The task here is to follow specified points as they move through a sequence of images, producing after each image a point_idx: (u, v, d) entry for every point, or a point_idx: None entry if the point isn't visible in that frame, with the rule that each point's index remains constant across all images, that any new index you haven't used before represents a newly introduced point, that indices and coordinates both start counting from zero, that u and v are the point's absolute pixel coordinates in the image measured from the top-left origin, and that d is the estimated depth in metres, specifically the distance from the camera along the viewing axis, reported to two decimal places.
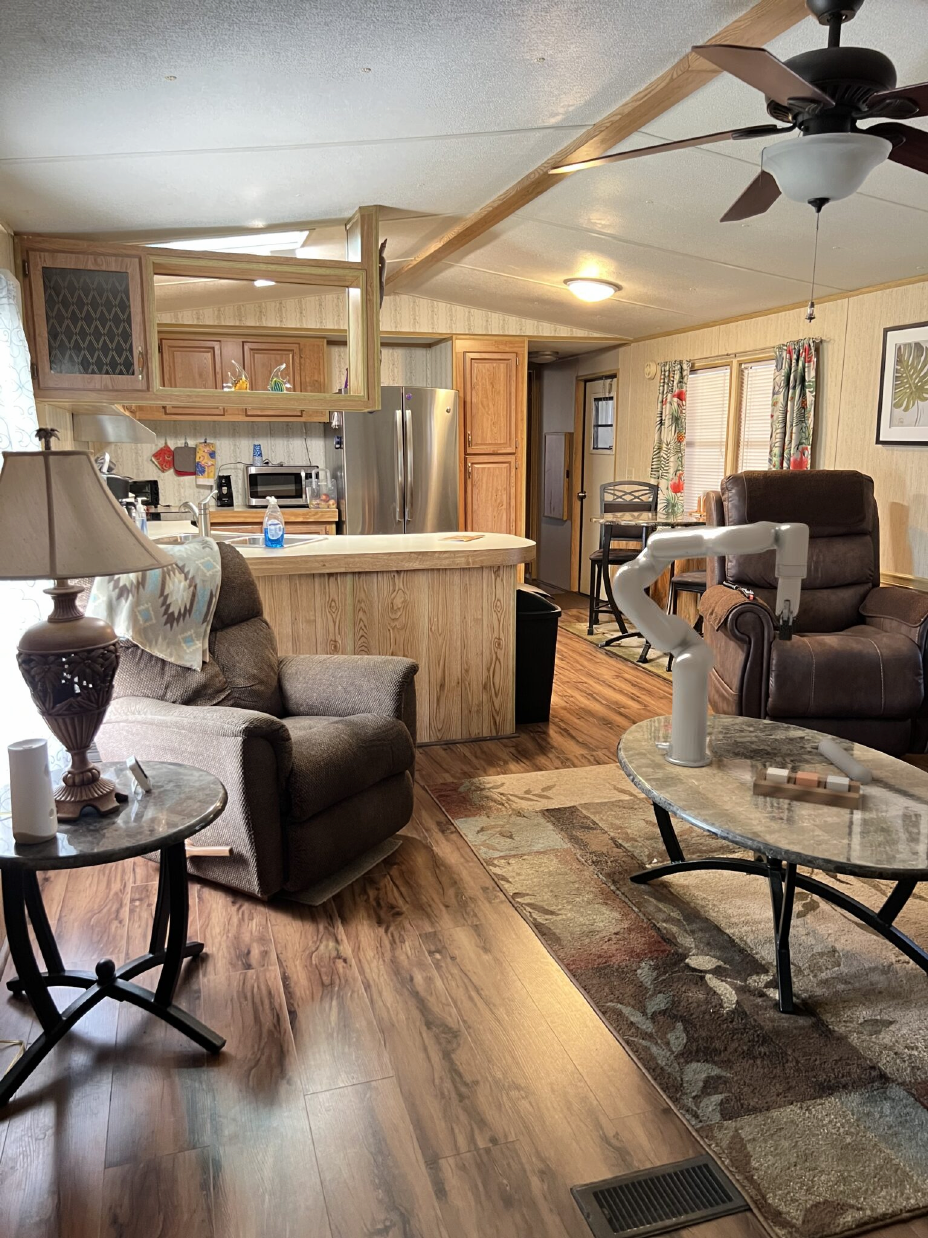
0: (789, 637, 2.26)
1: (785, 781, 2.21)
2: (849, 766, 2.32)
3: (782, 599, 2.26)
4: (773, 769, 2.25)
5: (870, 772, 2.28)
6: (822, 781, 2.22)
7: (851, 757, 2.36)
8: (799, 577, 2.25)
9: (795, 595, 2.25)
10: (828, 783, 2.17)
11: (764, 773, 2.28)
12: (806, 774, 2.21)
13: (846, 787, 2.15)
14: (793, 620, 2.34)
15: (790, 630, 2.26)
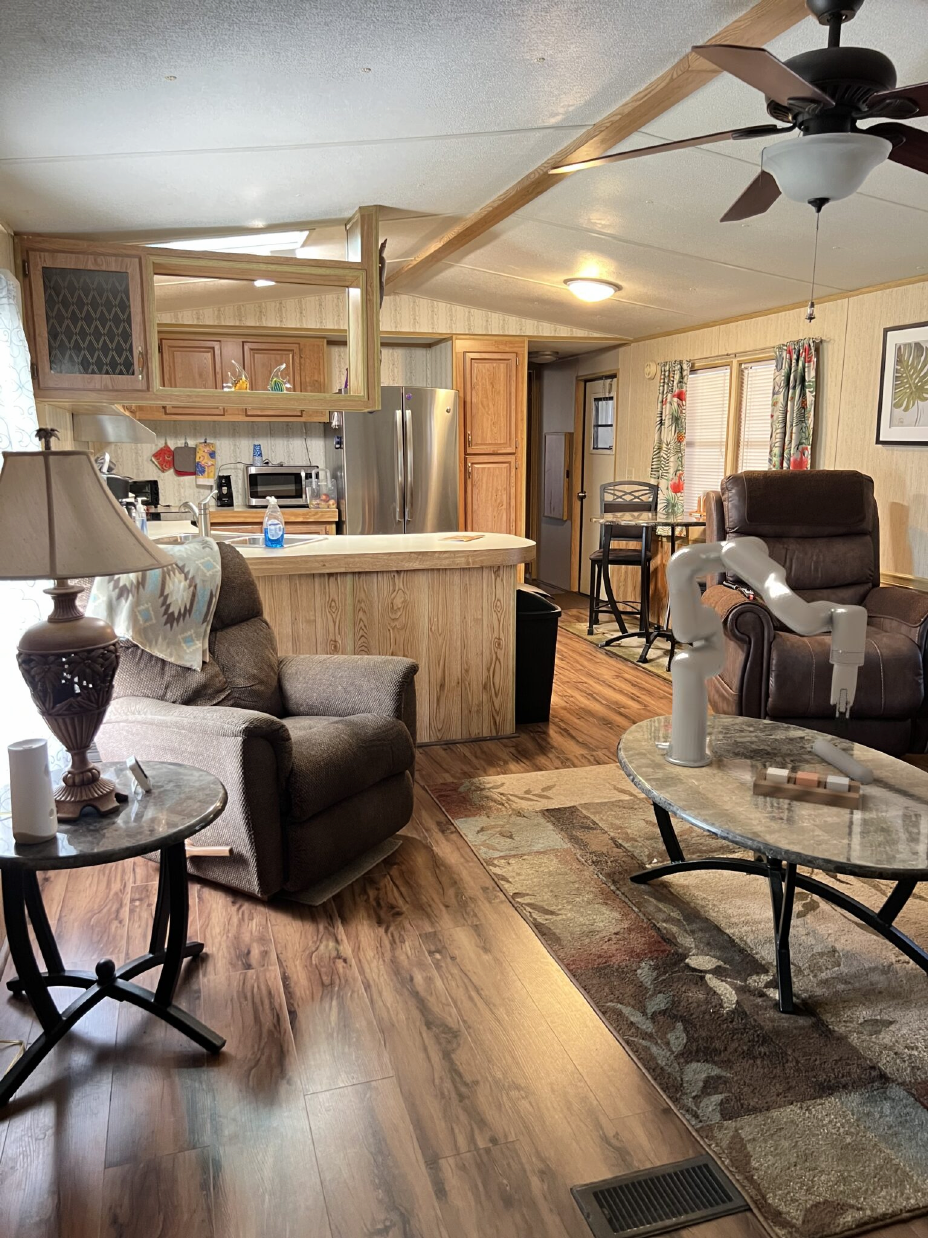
0: (845, 729, 2.14)
1: (785, 781, 2.21)
2: (850, 766, 2.32)
3: (838, 688, 2.10)
4: (773, 769, 2.25)
5: (872, 772, 2.28)
6: (822, 781, 2.22)
7: (850, 757, 2.36)
8: (857, 665, 2.10)
9: (852, 684, 2.09)
10: (828, 783, 2.17)
11: (764, 773, 2.28)
12: (806, 774, 2.21)
13: (846, 787, 2.15)
14: None
15: (846, 722, 2.14)
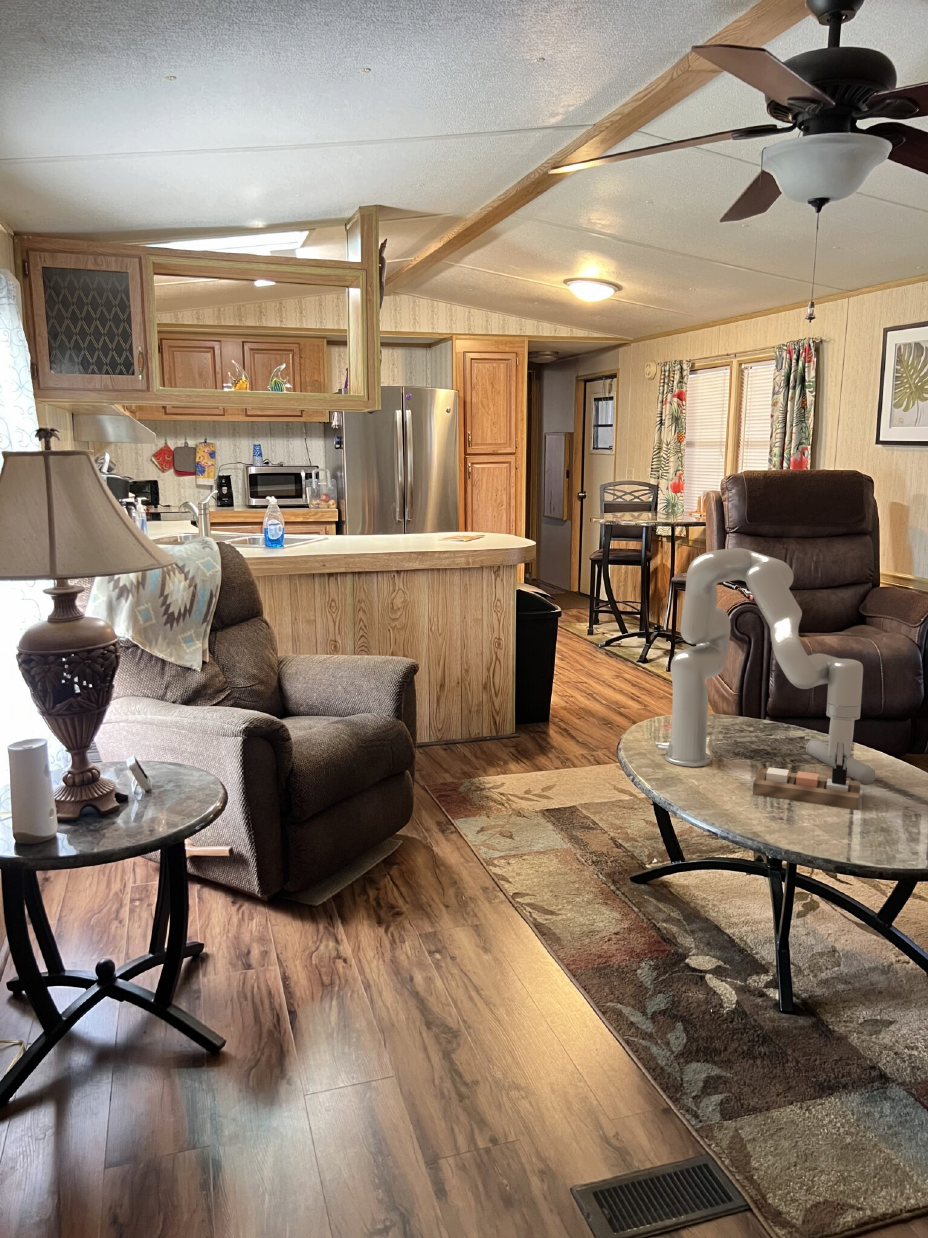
0: (843, 781, 2.17)
1: (785, 781, 2.21)
2: (851, 766, 2.32)
3: (835, 742, 2.12)
4: (773, 769, 2.25)
5: (874, 771, 2.28)
6: (822, 781, 2.22)
7: (849, 757, 2.36)
8: (853, 718, 2.12)
9: (849, 738, 2.11)
10: (828, 786, 2.17)
11: (764, 773, 2.28)
12: (806, 774, 2.21)
13: (846, 790, 2.15)
14: None
15: (844, 774, 2.16)
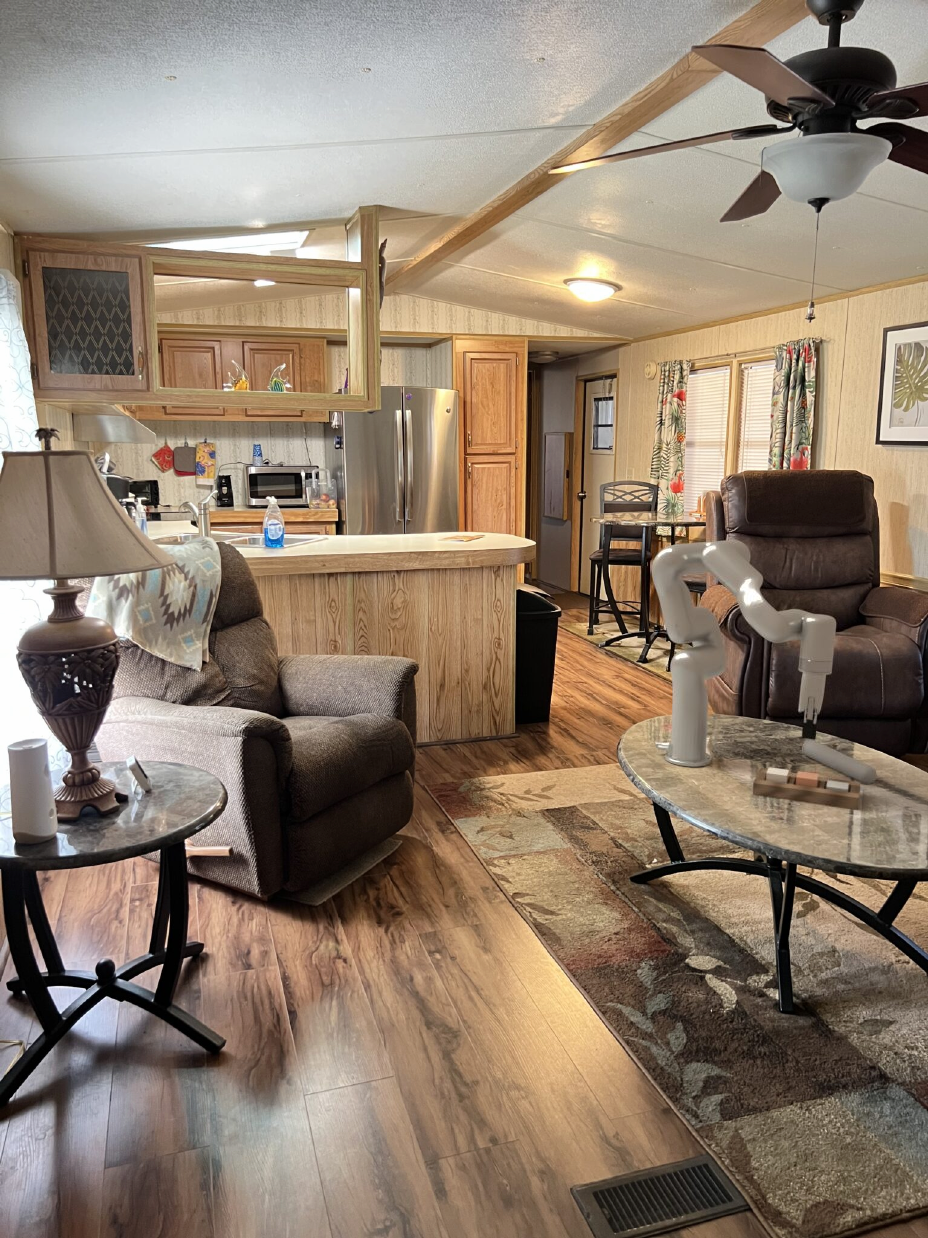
0: (813, 735, 2.18)
1: (785, 781, 2.21)
2: (852, 766, 2.32)
3: (806, 696, 2.13)
4: (773, 769, 2.25)
5: (875, 771, 2.29)
6: (822, 781, 2.22)
7: (848, 757, 2.36)
8: (824, 673, 2.13)
9: (820, 693, 2.12)
10: (828, 788, 2.17)
11: (764, 773, 2.28)
12: (806, 774, 2.21)
13: None
14: None
15: (814, 728, 2.18)
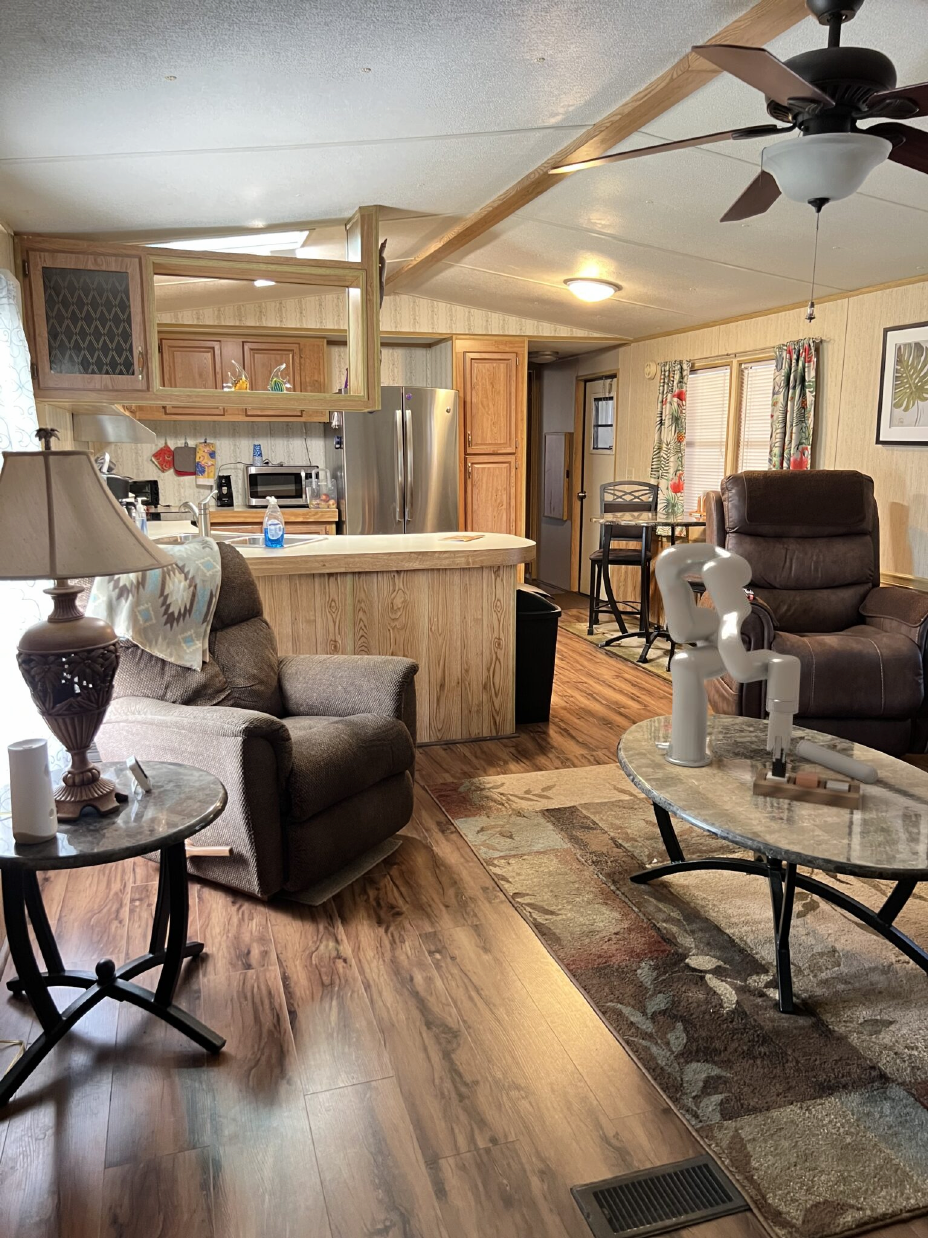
0: (782, 773, 2.23)
1: None
2: (853, 767, 2.32)
3: (773, 735, 2.18)
4: None
5: (876, 770, 2.29)
6: (822, 781, 2.22)
7: (847, 757, 2.36)
8: (791, 713, 2.18)
9: (786, 732, 2.17)
10: (828, 788, 2.17)
11: (764, 773, 2.28)
12: (806, 774, 2.21)
13: None
14: None
15: (783, 767, 2.22)
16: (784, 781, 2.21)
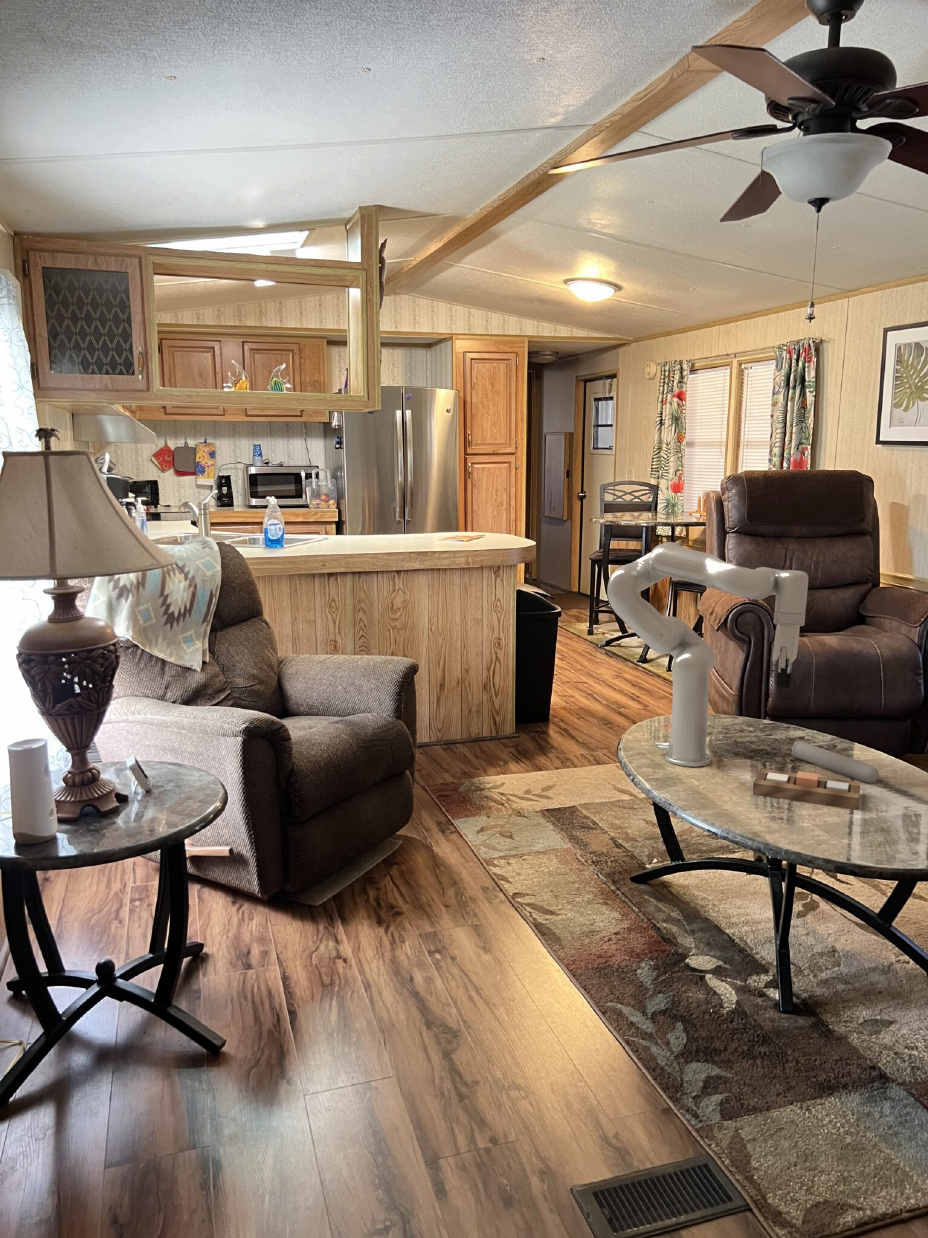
0: (787, 684, 2.32)
1: None
2: (853, 767, 2.32)
3: (779, 646, 2.28)
4: (773, 774, 2.25)
5: (877, 770, 2.30)
6: (822, 781, 2.22)
7: (846, 757, 2.36)
8: (796, 625, 2.27)
9: (792, 643, 2.27)
10: (828, 788, 2.17)
11: (764, 773, 2.28)
12: (806, 774, 2.21)
13: None
14: None
15: (788, 678, 2.32)
16: (784, 782, 2.21)
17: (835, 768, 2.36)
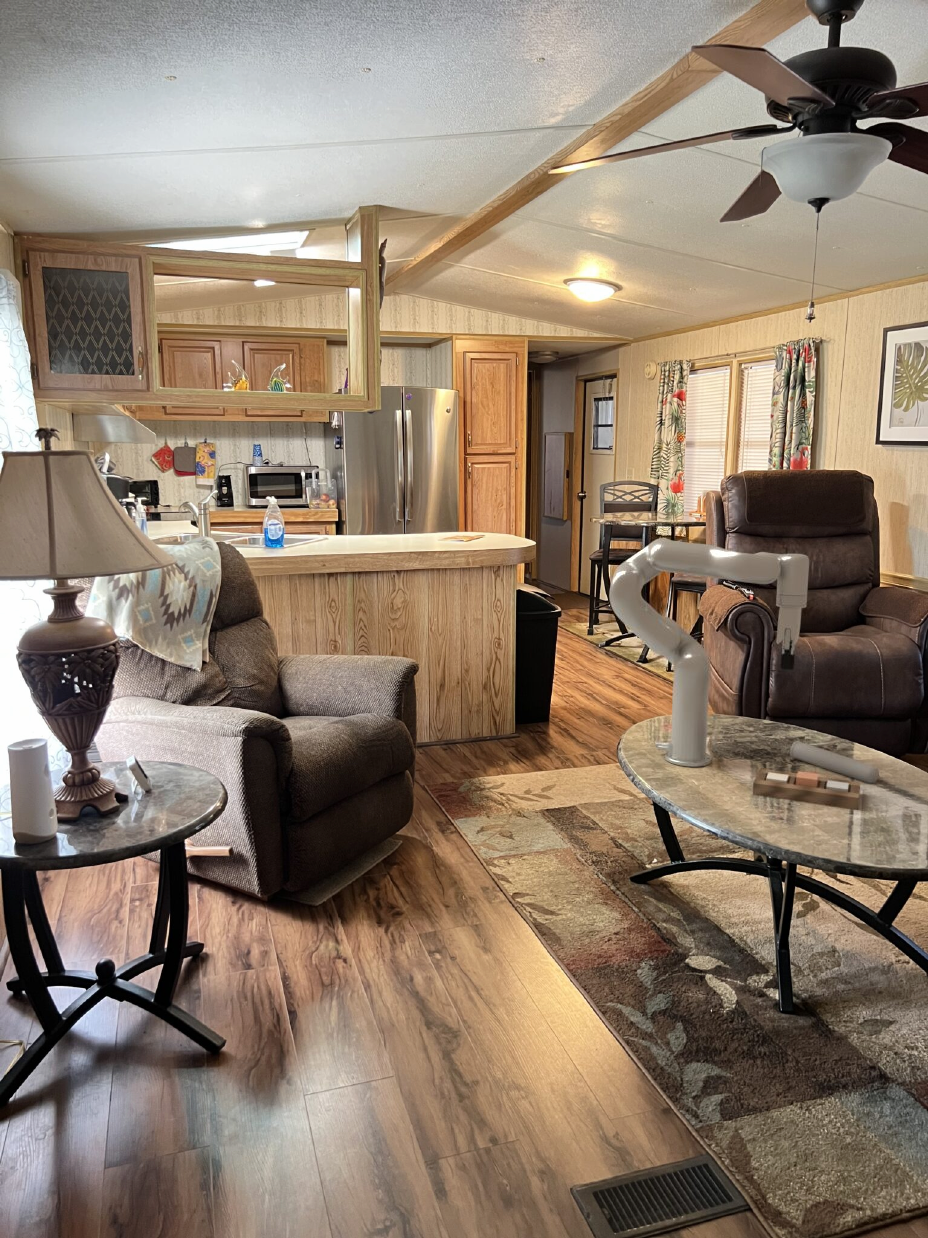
0: (791, 666, 2.37)
1: None
2: (854, 767, 2.32)
3: (783, 628, 2.33)
4: (773, 774, 2.25)
5: (877, 769, 2.30)
6: (822, 781, 2.22)
7: (845, 757, 2.36)
8: (799, 607, 2.32)
9: (795, 624, 2.31)
10: (828, 788, 2.17)
11: (764, 773, 2.28)
12: (806, 774, 2.21)
13: None
14: None
15: (791, 659, 2.37)
16: (784, 782, 2.21)
17: (835, 768, 2.36)
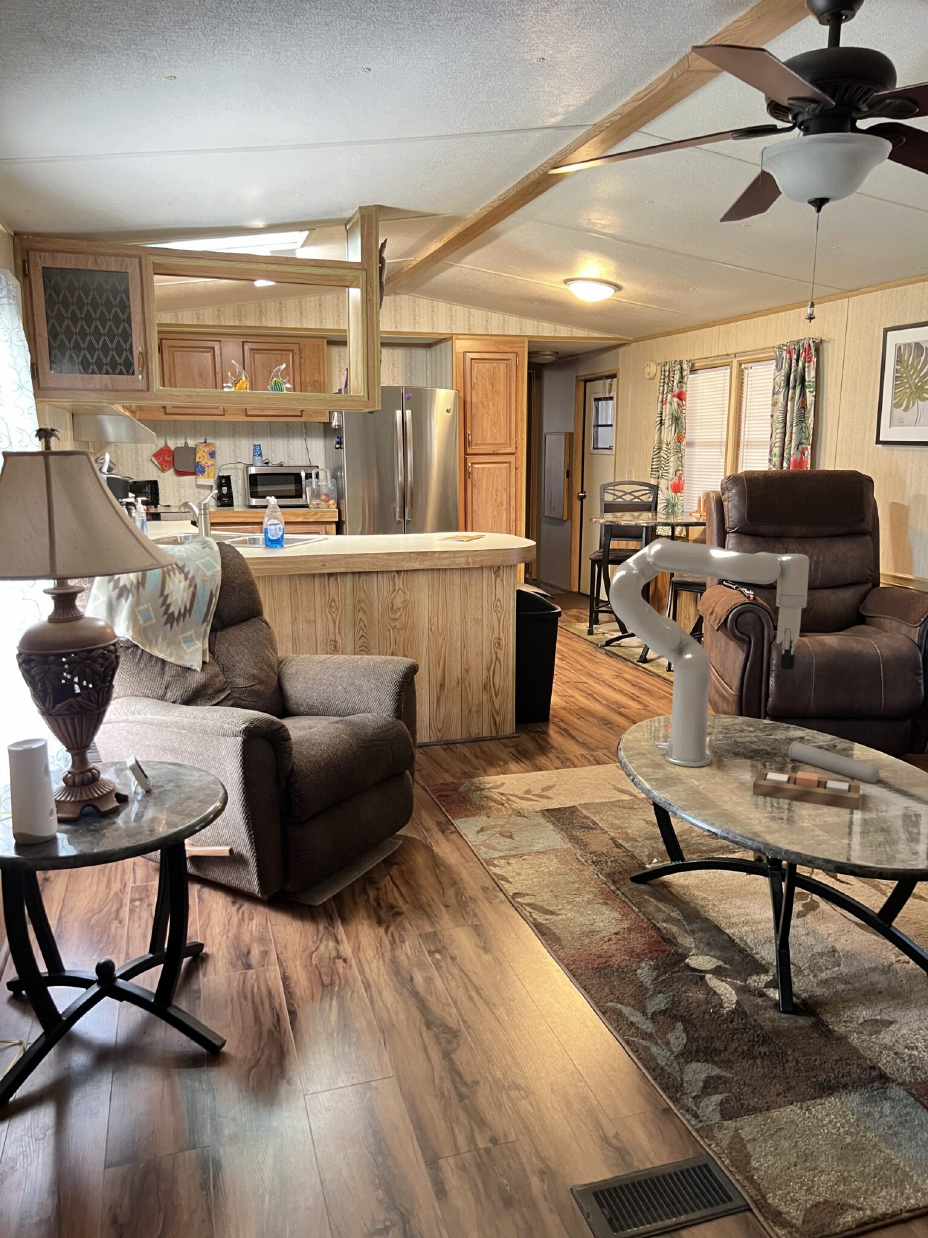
0: (791, 666, 2.37)
1: None
2: (854, 767, 2.32)
3: (783, 628, 2.33)
4: (773, 774, 2.25)
5: None
6: (822, 781, 2.22)
7: (845, 757, 2.36)
8: (799, 607, 2.32)
9: (795, 624, 2.31)
10: (828, 788, 2.17)
11: (764, 773, 2.28)
12: (806, 774, 2.21)
13: None
14: None
15: (791, 659, 2.37)
16: (784, 782, 2.21)
17: (835, 768, 2.36)
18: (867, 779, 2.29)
